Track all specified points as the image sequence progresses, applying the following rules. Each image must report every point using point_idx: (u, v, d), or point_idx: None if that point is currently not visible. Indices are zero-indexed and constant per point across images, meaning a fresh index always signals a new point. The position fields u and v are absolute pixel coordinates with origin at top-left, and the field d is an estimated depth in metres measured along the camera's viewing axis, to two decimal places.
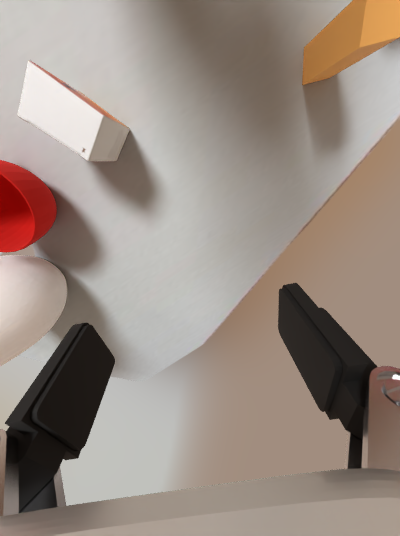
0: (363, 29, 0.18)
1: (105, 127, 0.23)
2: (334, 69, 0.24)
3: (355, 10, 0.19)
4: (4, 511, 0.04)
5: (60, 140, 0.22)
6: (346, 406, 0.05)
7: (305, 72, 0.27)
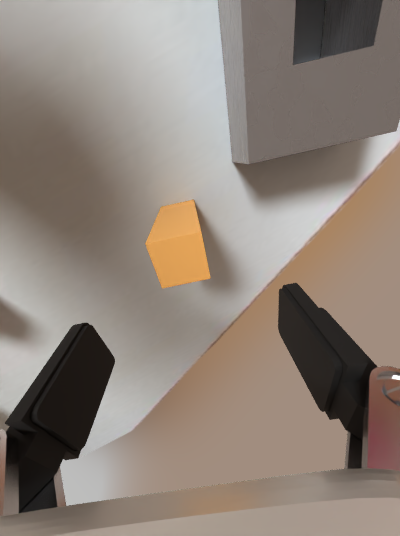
0: (159, 275, 0.15)
1: None
2: None
3: None
4: (4, 511, 0.04)
5: None
6: (346, 406, 0.05)
7: None
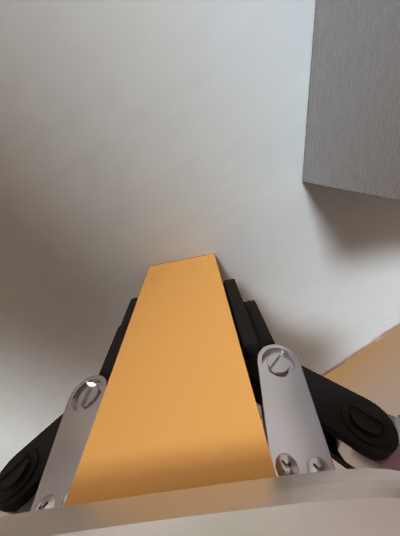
0: None
1: None
2: None
3: None
4: None
5: None
6: None
7: None
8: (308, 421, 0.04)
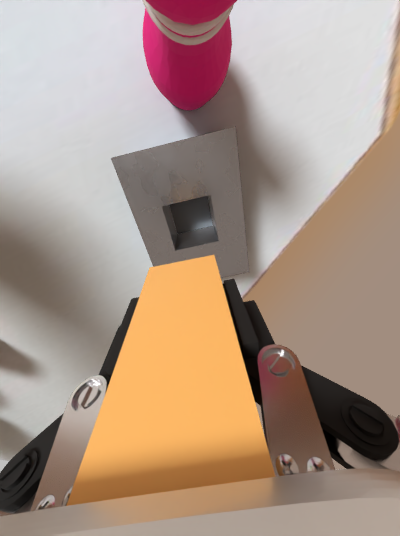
0: None
1: None
2: None
3: None
4: None
5: None
6: (248, 378, 0.07)
7: None
8: (308, 421, 0.04)
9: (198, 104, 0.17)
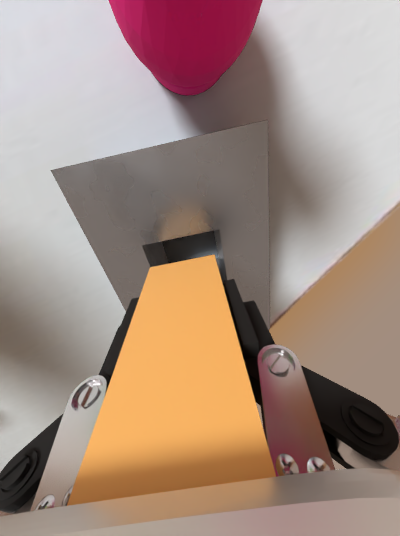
0: None
1: None
2: None
3: None
4: None
5: None
6: None
7: None
8: (308, 421, 0.04)
9: (203, 80, 0.10)
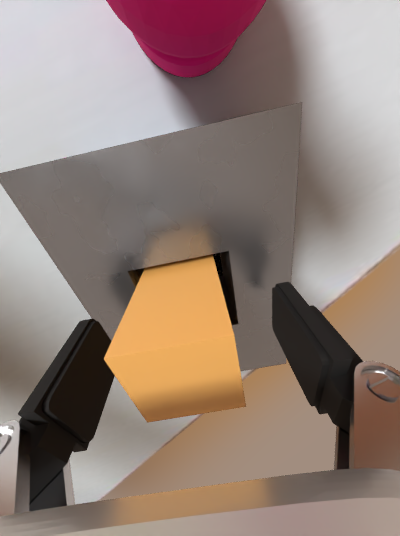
0: (140, 405, 0.07)
1: None
2: None
3: None
4: (15, 503, 0.04)
5: None
6: (333, 400, 0.06)
7: None
8: None
9: (209, 45, 0.07)
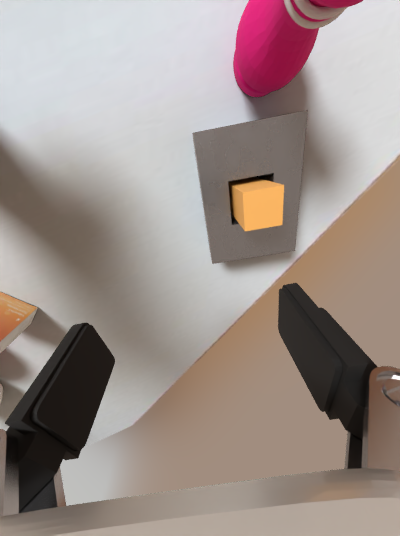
0: (245, 219, 0.20)
1: None
2: None
3: (240, 199, 0.20)
4: (4, 511, 0.04)
5: None
6: (346, 406, 0.05)
7: None
8: None
9: (275, 89, 0.20)
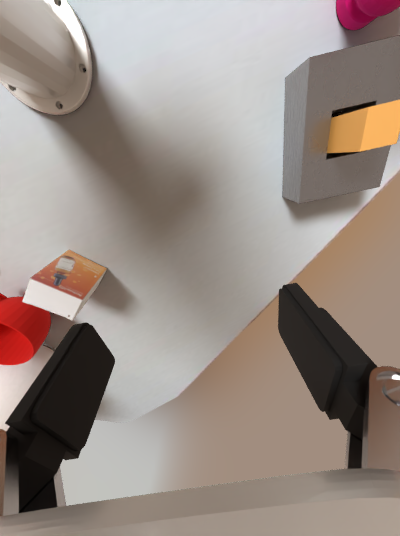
0: (363, 138, 0.21)
1: (85, 299, 0.32)
2: None
3: (356, 120, 0.21)
4: (4, 511, 0.04)
5: (52, 311, 0.31)
6: (346, 406, 0.05)
7: None
8: None
9: (389, 11, 0.20)
